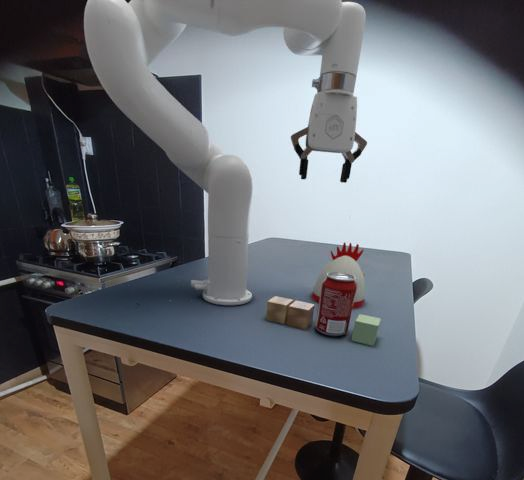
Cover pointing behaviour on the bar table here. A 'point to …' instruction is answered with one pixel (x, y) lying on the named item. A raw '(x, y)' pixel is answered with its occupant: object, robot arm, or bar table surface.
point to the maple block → (278, 309)
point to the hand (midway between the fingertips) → (323, 180)
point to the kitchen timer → (344, 264)
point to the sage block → (366, 329)
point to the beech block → (300, 314)
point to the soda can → (336, 303)
